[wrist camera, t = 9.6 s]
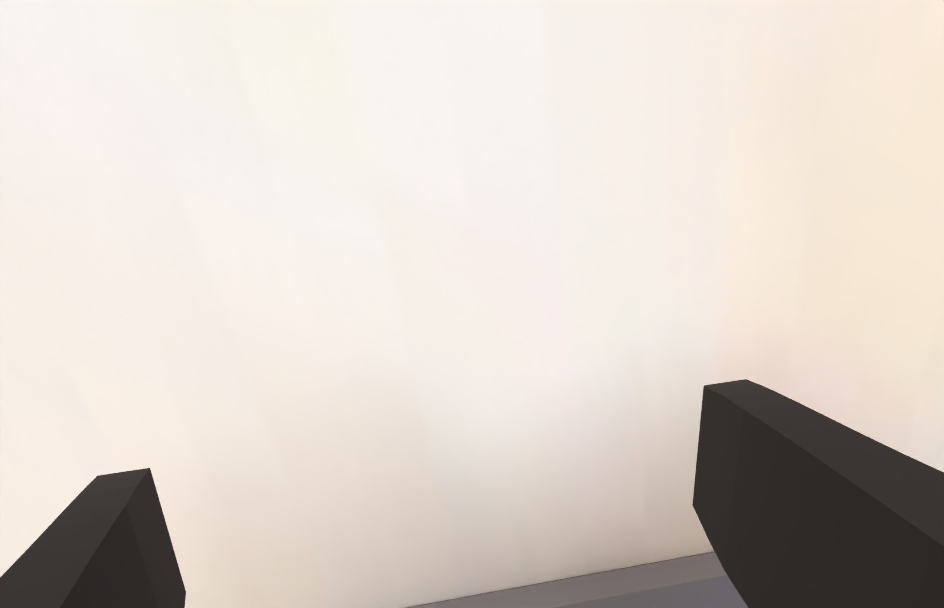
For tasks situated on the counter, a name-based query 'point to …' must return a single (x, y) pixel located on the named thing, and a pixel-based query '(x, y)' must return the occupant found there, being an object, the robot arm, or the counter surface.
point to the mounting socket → (622, 589)
